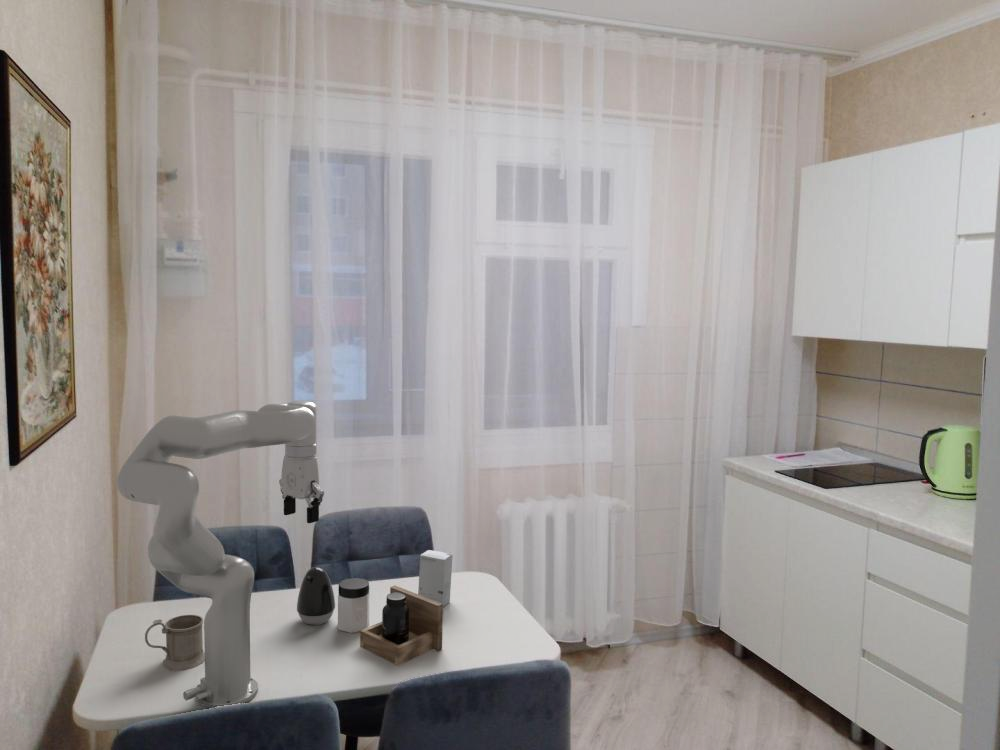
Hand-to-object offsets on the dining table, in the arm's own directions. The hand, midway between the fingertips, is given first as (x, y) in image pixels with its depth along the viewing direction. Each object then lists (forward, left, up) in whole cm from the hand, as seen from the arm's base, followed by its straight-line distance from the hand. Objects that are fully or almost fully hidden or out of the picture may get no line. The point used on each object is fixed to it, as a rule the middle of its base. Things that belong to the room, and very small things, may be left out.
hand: (301, 518), depth 187 cm
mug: (-26, +14, -34) cm, 45 cm away
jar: (+16, -1, -34) cm, 37 cm away
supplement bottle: (+15, -19, -32) cm, 40 cm away
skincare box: (+42, -6, -34) cm, 54 cm away
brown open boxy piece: (+16, -19, -33) cm, 42 cm away
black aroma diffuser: (+11, +9, -34) cm, 36 cm away
